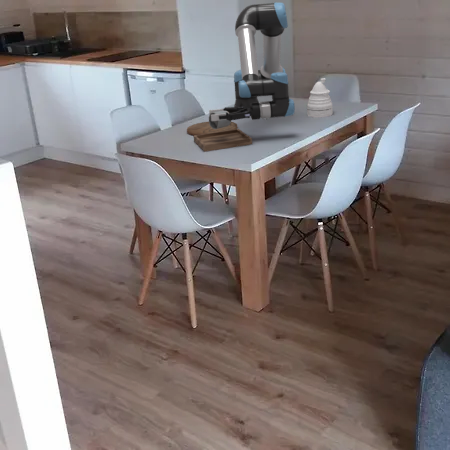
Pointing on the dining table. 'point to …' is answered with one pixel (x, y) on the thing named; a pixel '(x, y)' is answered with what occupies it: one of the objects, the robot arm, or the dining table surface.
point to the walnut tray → (222, 140)
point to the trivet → (207, 128)
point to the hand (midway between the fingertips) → (210, 115)
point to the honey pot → (319, 101)
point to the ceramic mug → (218, 123)
